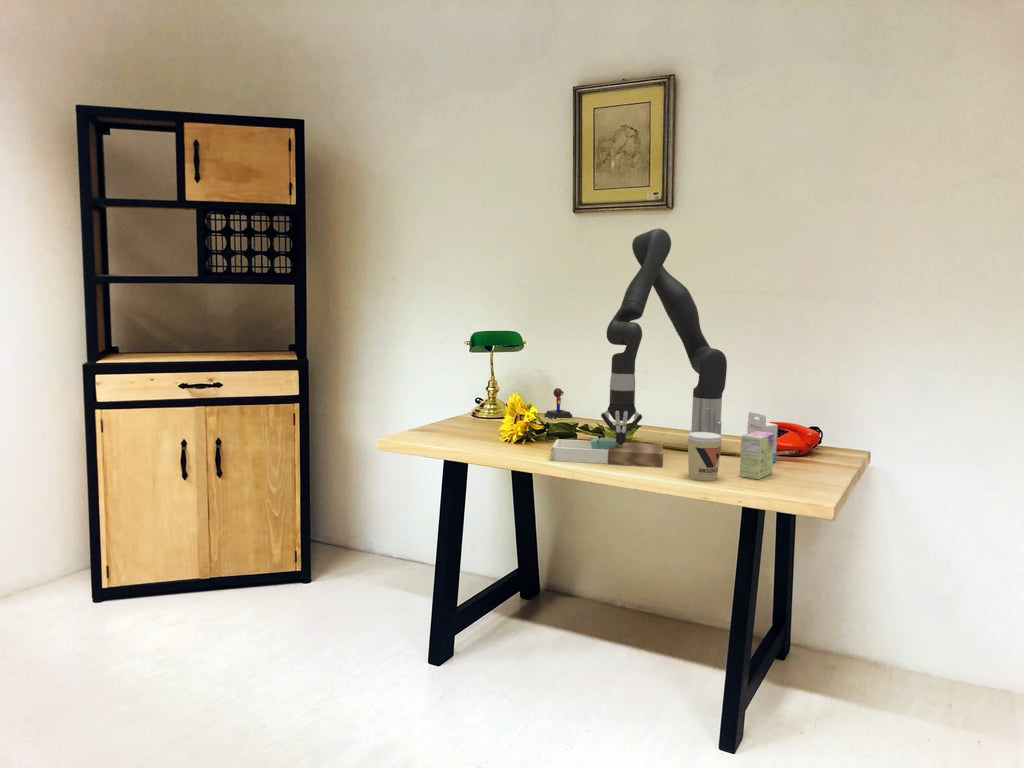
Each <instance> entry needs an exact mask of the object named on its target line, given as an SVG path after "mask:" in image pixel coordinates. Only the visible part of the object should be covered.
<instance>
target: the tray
mask: <svg viewBox="0 0 1024 768" xmlns="http://www.w3.org/2000/svg"><path fill="white" fill-rule="evenodd" d="M608 450H609V448H607V447H601V450H600V449H592V446H591V440H582V439H581V440H579V439H578V440H577V439H564V438H563V439H560V438H557V439H556V440H555V442H554V443H553V445H552V446H551V462H553V461H554V462H570V463H571V462H572V463H589V464H603V463H605V465H606V464H607V465H609V464H608Z"/></svg>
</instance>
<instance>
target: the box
mask: <svg viewBox="0 0 1024 768" xmlns="http://www.w3.org/2000/svg"><path fill="white" fill-rule="evenodd" d="M740 442H741V443H740V463H739V465H740V466H739V477H741V478H747V479H753V480H761V479H763V478H765V477H766V476H768V475H772V473H773V464H774V462H773V446H774V433H768V432H760V431H755V432H752V433H749V434H747V433H746V434H743V435H741V441H740Z"/></svg>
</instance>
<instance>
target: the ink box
mask: <svg viewBox="0 0 1024 768" xmlns="http://www.w3.org/2000/svg"><path fill="white" fill-rule="evenodd" d="M747 417H748V421H747V431H746V434H749V433H752V432H755V431H760V432H768V433H774V446H773V463H776V462H777V445H778V444H777V442H778V429H779V428H778V424H776V423H771V422H767V416H766V415H765V414H761V413H758V412H757V413H756V412H752V411H748V416H747ZM755 417H757V418H755Z"/></svg>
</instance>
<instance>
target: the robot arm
mask: <svg viewBox="0 0 1024 768" xmlns="http://www.w3.org/2000/svg"><path fill="white" fill-rule="evenodd" d="M671 247H672V239H671V236H670V234H669V233H668V232H667V231H666V230H665V229H662V228H655V229H651V230H649V231H646V232H643V233H640V234H638V235H636V236H635V237H634V238H633V239H632V244H631V249H632V253H633V255H634V257H635V259H636V261H637V262H638V264H639V265H640V268H639V270H638V272H637V273H636V275H635V276H633V278H632V280H631V281H630V283H629V284H628V286H627V288H626V290H625V292H624V295H623V298H622V302H621V305H620V306H619V309H618V310H617V312H616V313H615V314H614V316H613V318H612V319H611V320H610V322H609V324H608V326H607V328H606V340H607V341H608V342H609V343H610V344H611V345H615V346H625V349H624V351H623V352H617V353H614V354H613V355H612V357H611V367H610V368H611V370H610V371H611V374H610V380H609V381H610V382H609V405H608V407H607V410H605V411H604V412H602V413H601V414H600V417H601V418H602V420H603V421H604V422H605V424H606V425H607V427H608V428H609V429H610V430H611V431H614V432H615V433H616V434H615V435H616V436H615V438H616V442H617V443H618V445H623V443H625V442H626V438H627V435H626V434H627V433H628V432H631V431H632V430H633V429H634V428H635V427H636V426H637V424H639V422H640V421H642V419H643V415H642V414H641V413H639V412H638V411H637V408H636V405H635V404H636V403H635V402H636V398H635V397H636V375H635V373H636V358H637V355H638V351H639V348H640V345H641V342H642V338H643V330H642V327H641V325H640V323H638V322H635V321H636V320H640V319H641V318H642V317H643V315H644V312H645V308H646V305H647V303H648V299H649V296H650V294H651V293H650V292H651V291H652V288H653V289H654V290H655V293H656V294H657V296H658V299H660V302H661V305H662V307H663V309H664V310H665V312H666V315H667V317H668V318H669V320H670V322H671V323H672V326H673V328H674V330H675V332H676V333H677V335H678V336H679V338H680V340H681V342H682V344H683V347H684V349H685V352H686V355H687V359H688V360H689V363H690V366H691V368H692V369H693V370H694V372H695V373H697V374H698V383H697V385H696V386H695V387H694V388H693V390H692V407H691V408H692V410H691V429H690V430H691V431H690V433H692V432H709V433H716V434H719V435H721V436H722V404H723V393H724V391H725V388H726V381H727V380H726V379H727V369H728V363H727V362H728V361H727V357H726V355H725V353H724V352H723V351H721V350H719V349H717V348H712V347H711V346H710V345H709V343H708V341H707V339H706V338H705V336H704V334H703V330H702V329H701V323H700V316H699V311H698V308H697V304H696V303H695V301H694V298H693V296H692V295H691V292H690V290H689V289H688V288H687V287H686V286H685V285H684V284H683V283H682V282H681V281H679V280H678V279H677V278H676V277H674V276H673V275H672V274H671V273H670V272H668V270H667V269H666V268H665V266H664V263H665V262H666V260H667V257H668V255H669V253H670V251H671ZM633 321H634V322H633ZM610 416H611V418H612V419H613V420H614V421H615V424H614V423H613V422H612V420H611V419H610ZM632 417H633V419H634V420H632V421H631V423H630V424H629V425H628V424H627V423H628V421H630V420H631V419H632ZM621 422H622V426H621ZM627 425H628V426H627ZM621 427H622V428H621Z"/></svg>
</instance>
